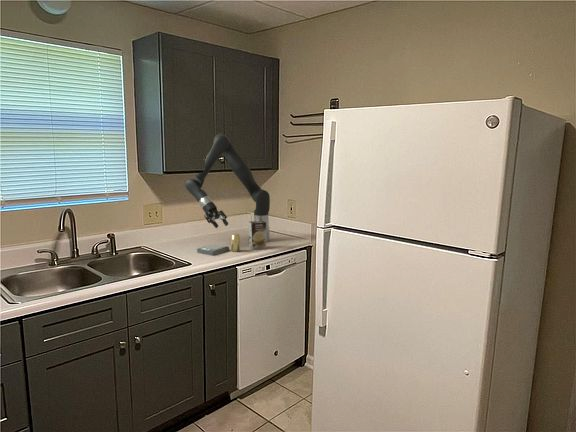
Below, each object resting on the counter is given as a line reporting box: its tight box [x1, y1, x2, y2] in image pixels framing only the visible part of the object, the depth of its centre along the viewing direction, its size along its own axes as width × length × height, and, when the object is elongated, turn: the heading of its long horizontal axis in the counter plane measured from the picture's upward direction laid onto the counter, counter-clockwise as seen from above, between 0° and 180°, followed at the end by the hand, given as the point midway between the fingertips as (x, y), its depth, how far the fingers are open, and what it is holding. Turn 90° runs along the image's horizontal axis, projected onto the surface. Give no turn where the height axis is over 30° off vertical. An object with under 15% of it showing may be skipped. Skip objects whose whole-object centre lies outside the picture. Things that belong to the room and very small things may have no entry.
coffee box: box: [248, 220, 267, 251], centre depth 261 cm, size 9×6×16 cm
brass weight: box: [230, 233, 241, 253], centre depth 254 cm, size 5×5×10 cm
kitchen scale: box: [196, 243, 230, 256], centre depth 253 cm, size 14×12×3 cm
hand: (222, 226), depth 258 cm, fingers open, 8 cm apart
